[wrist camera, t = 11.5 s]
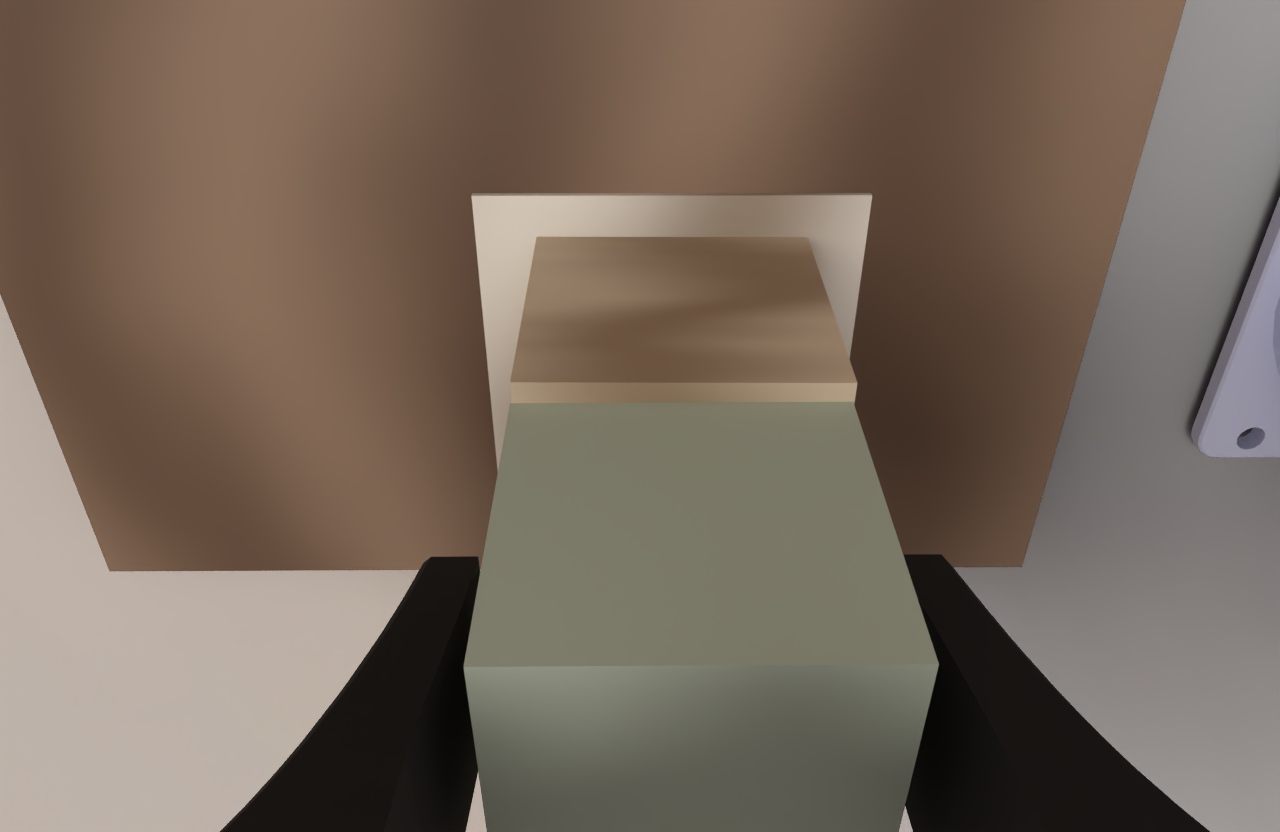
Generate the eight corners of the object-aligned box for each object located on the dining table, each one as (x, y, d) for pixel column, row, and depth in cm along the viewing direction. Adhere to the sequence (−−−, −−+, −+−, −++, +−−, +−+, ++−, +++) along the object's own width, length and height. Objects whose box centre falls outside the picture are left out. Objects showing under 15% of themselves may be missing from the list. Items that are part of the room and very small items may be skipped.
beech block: (807, 237, 17) (857, 383, 13) (784, 455, 19) (820, 628, 16) (536, 236, 17) (509, 381, 13) (548, 455, 19) (529, 628, 16)
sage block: (853, 402, 13) (938, 663, 10) (818, 642, 16) (876, 921, 12) (510, 403, 13) (463, 666, 10) (531, 642, 16) (500, 925, 12)
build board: (1395, -892, 11) (1466, -948, 10) (1007, 535, 22) (1023, 569, 21) (-408, -912, 11) (-504, -970, 10) (128, 538, 22) (107, 574, 21)
